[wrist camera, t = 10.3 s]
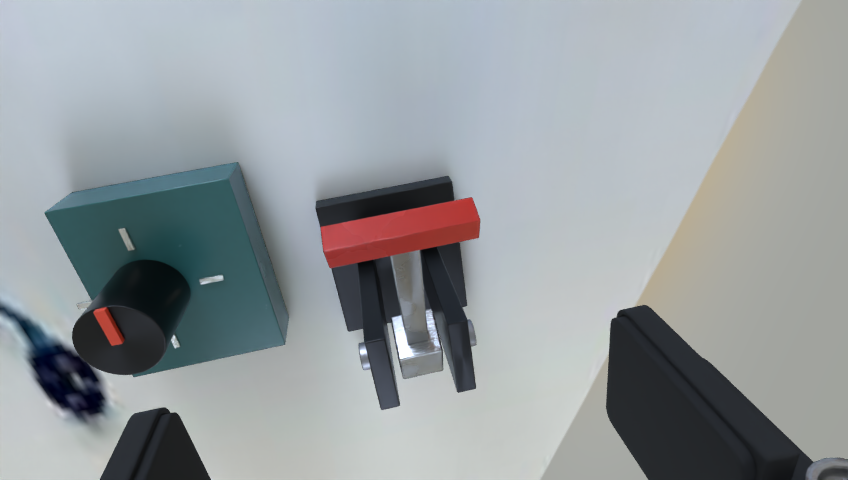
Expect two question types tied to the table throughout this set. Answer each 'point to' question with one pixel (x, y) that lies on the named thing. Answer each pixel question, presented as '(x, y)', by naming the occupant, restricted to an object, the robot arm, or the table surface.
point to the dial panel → (182, 256)
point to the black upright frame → (376, 291)
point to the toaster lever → (406, 267)
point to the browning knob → (132, 318)
